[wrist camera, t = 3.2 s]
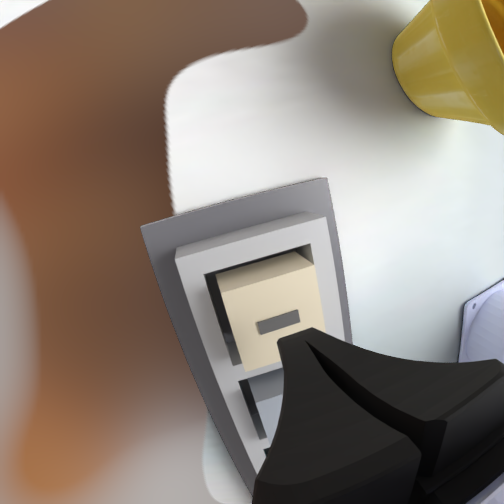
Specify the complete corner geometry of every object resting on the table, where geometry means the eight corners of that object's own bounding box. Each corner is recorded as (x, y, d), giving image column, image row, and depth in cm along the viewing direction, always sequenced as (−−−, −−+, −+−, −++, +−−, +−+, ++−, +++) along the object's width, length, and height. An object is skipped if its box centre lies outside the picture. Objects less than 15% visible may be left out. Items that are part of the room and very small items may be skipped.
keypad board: (322, 177, 17) (348, 178, 14) (356, 475, 24) (369, 495, 21) (141, 225, 16) (131, 235, 13) (260, 509, 23) (267, 532, 20)
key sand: (294, 251, 16) (315, 265, 13) (308, 321, 17) (328, 345, 14) (215, 274, 15) (221, 294, 12) (236, 344, 16) (245, 373, 14)
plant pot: (343, 3, 15) (435, -74, 5) (447, 16, 16) (534, -17, 7) (390, 152, 17) (523, 148, 8) (483, 135, 19) (583, 136, 9)
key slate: (313, 351, 17) (333, 377, 15) (322, 400, 18) (338, 426, 16) (245, 374, 17) (255, 404, 14) (261, 421, 18) (272, 451, 15)
